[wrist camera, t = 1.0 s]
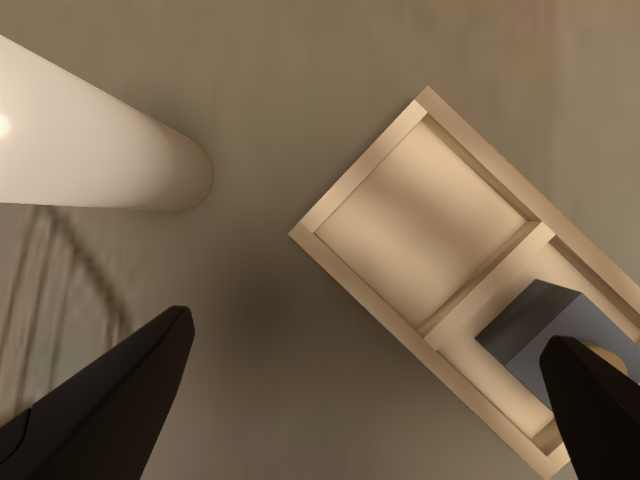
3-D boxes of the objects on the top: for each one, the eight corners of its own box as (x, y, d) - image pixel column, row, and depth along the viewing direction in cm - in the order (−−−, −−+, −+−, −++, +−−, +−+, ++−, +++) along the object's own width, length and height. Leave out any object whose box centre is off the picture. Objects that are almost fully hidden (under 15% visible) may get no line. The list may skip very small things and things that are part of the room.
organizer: (522, 451, 22) (592, 539, 16) (293, 232, 22) (275, 236, 16) (655, 328, 22) (782, 372, 15) (417, 101, 22) (448, 53, 15)
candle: (178, 227, 23) (-34, 236, 10) (124, 175, 23) (-158, 116, 10) (228, 172, 22) (76, 106, 9) (173, 119, 22) (-53, -18, 10)
